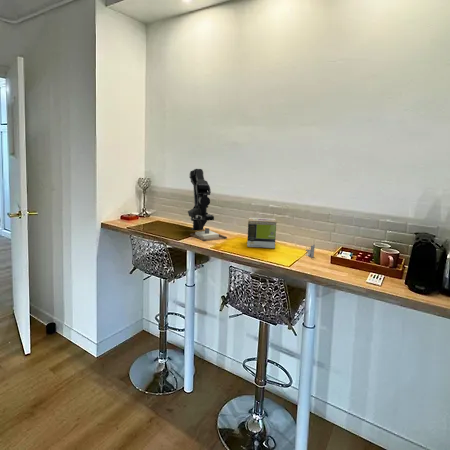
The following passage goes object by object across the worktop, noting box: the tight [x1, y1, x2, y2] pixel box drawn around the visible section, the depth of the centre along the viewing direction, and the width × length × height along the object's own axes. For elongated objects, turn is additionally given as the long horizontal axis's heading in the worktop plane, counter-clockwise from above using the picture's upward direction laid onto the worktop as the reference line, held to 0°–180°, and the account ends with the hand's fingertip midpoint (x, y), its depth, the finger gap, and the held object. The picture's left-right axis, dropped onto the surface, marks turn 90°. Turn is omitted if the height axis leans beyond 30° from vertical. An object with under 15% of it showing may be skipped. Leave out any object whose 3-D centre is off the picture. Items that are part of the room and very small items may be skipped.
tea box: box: [246, 217, 277, 249], centre depth 189 cm, size 15×10×15 cm, turn 84°
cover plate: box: [195, 227, 220, 239], centre depth 203 cm, size 10×10×5 cm
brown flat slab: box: [189, 232, 228, 242], centre depth 202 cm, size 16×15×2 cm
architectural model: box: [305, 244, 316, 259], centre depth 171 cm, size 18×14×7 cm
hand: (201, 229), depth 208 cm, fingers closed
